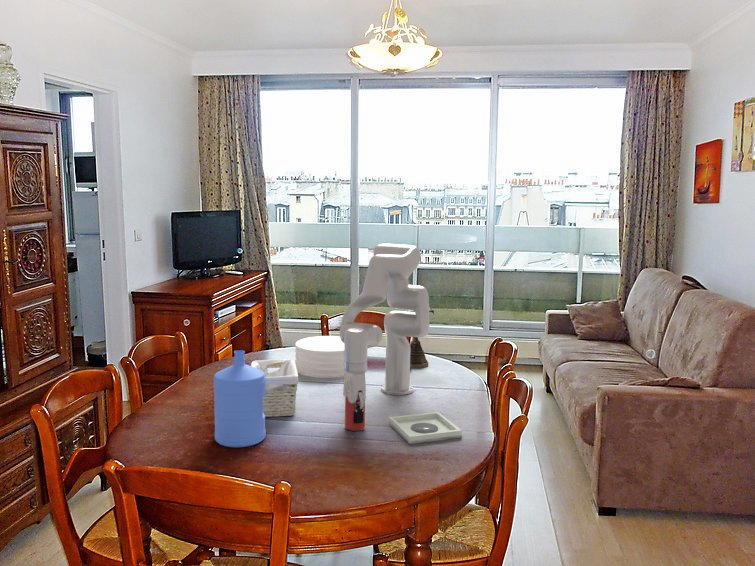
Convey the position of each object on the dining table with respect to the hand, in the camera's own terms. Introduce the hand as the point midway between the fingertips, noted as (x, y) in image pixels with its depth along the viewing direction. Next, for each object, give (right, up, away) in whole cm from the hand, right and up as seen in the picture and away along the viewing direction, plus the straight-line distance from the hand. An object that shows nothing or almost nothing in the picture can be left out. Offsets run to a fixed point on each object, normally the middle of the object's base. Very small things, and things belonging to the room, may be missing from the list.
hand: (354, 418), depth 213 cm
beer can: (0, -3, +1) cm, 3 cm away
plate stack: (-14, +7, +70) cm, 71 cm away
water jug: (-35, -4, -10) cm, 37 cm away
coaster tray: (+23, -4, -1) cm, 23 cm away
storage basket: (-30, 0, +19) cm, 36 cm away
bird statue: (+26, +7, +76) cm, 81 cm away
